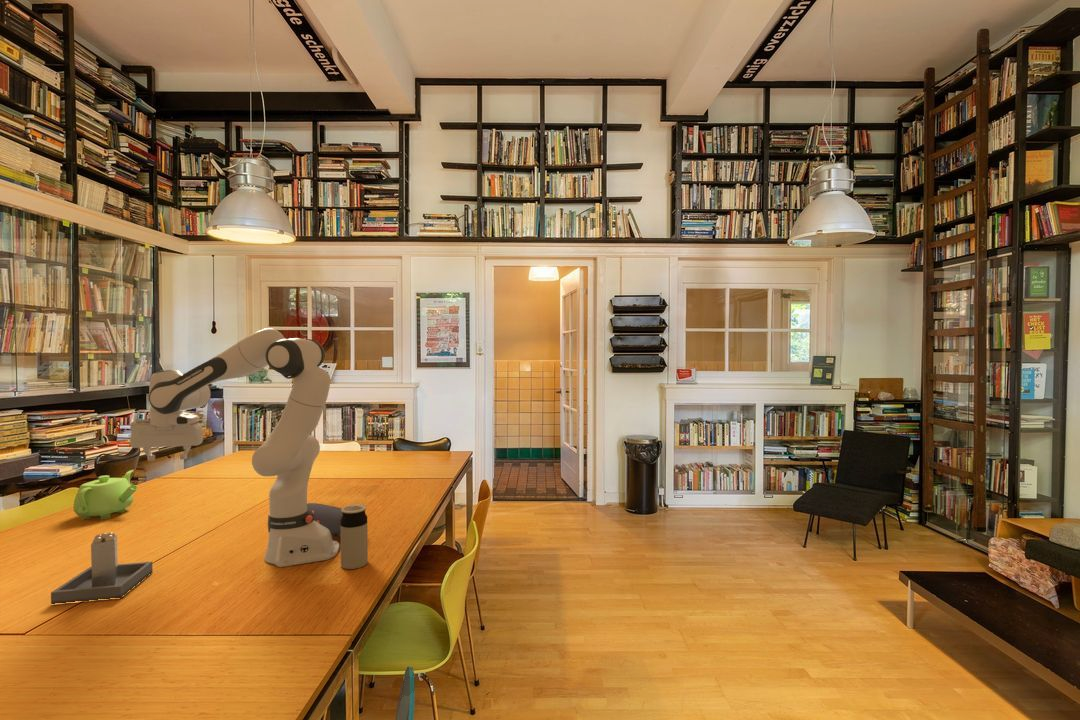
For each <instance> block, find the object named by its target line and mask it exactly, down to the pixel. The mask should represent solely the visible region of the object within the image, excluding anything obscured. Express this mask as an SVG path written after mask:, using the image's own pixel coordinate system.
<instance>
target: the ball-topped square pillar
mask: <svg viewBox="0 0 1080 720" xmlns="http://www.w3.org/2000/svg"><path fill="white" fill-rule="evenodd" d="M90 557H91V562H90V563H91V567H92V587H102V586H114V585H116V583H117V580H118V564H119V563H118V535H117V534H116V533H114V532H108V533H107V532H104V533H101V534H96V535H95V536H94V538H93V540H92V542H91V544H90Z"/></svg>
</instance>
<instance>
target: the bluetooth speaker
mask: <svg viewBox="0 0 1080 720" xmlns="http://www.w3.org/2000/svg"><path fill="white" fill-rule="evenodd" d="M342 508H343V507H339V506H338V507H337V506H334V505H329V504H324V503H317V502H307V509H308V510H310V511H311V512H312V511H313V510H314V521H316V522H317V523H319V524H321V525H322V526H324V527H326V528H328V529H329V530H330V532H331V535H332V537H338V536H341V526H340V520H341V518H342V516H343V514H342V511H341V509H342Z"/></svg>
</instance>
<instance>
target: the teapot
mask: <svg viewBox="0 0 1080 720" xmlns="http://www.w3.org/2000/svg"><path fill="white" fill-rule="evenodd" d="M134 472H135V471H134V469H130V470H128V471H127V472H126V473H124V476H123V477H110V475H100V476H98V477H97V479H94V480H91V481H88V482H85V483H83V484H81V485H80V486H79V488H78V490H77V493H76V495H75V498H74V500H73V501H74V502H73V512H74V513H75V515H76V516H80V517H81V518H80V519H81V520H88V519H91V518H92V517H100V518H99V519H100V520H107V519H110V518H111V517H112V516H111V514H113V513H117V514H121V513H127V511H128V510H127V508H128V507H130V506H131V505H132V503H133V501H134V493H135V492H136V491H137V490H138V489H139V488H138V486H137V485H136V484H131V476H132V473H134Z"/></svg>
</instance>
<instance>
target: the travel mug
mask: <svg viewBox="0 0 1080 720" xmlns="http://www.w3.org/2000/svg"><path fill="white" fill-rule="evenodd" d="M341 508H342V509H341V511H342V514H343V516H342V518H341V520H340V526H341V535H340V567H341V568H343V569H346V570H356V568H357V569H360V568H363V567H364V566H366V565H367V564H368V562H369V561H368V560H369V559H368V558H369V557H368V554H369V552H368V551H369V550H368V549H369V546H368V544H369V543H368V539H369V538H368V515H367V514H366V510H367V505H364V504H349V505H346V506H344V507H341Z"/></svg>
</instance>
